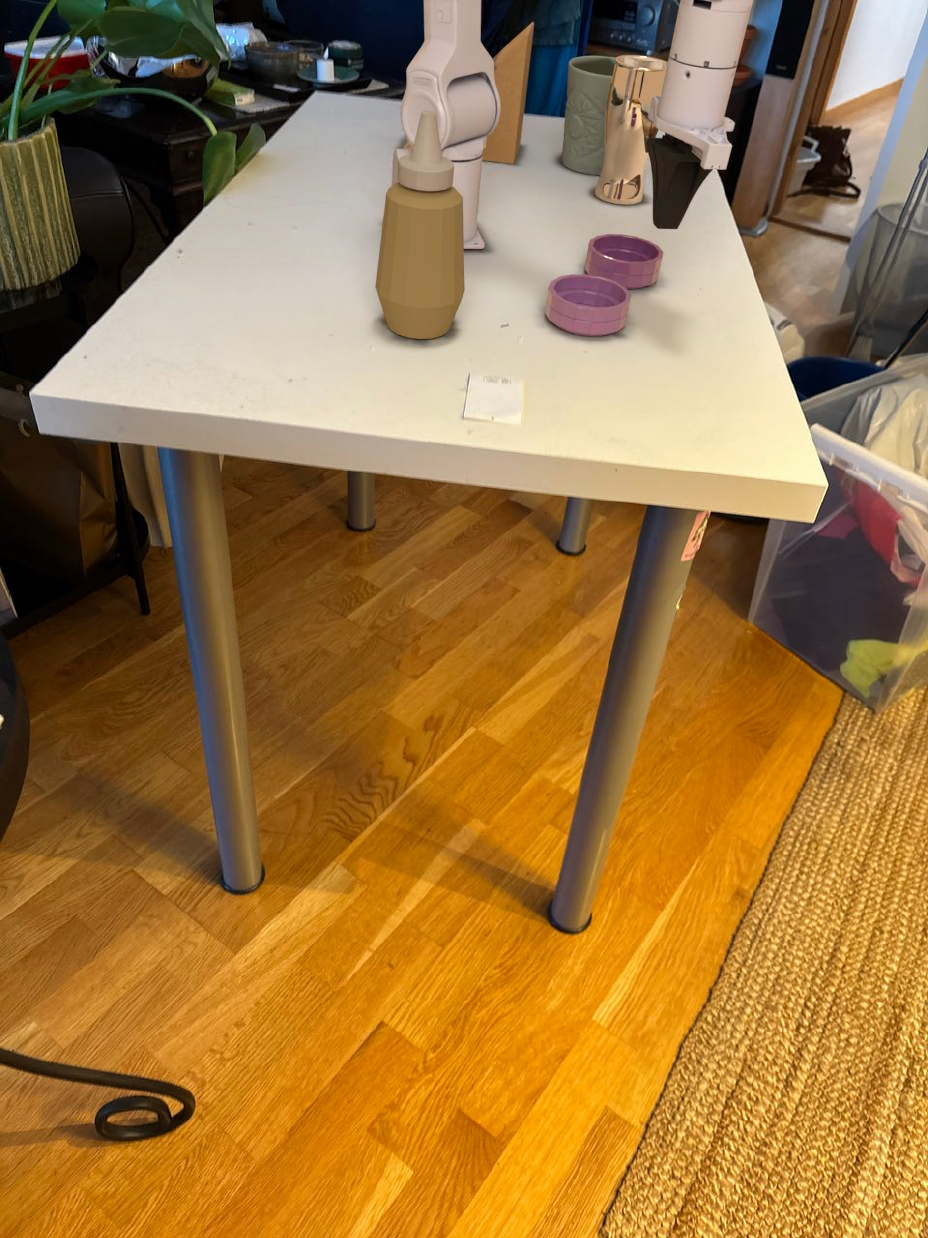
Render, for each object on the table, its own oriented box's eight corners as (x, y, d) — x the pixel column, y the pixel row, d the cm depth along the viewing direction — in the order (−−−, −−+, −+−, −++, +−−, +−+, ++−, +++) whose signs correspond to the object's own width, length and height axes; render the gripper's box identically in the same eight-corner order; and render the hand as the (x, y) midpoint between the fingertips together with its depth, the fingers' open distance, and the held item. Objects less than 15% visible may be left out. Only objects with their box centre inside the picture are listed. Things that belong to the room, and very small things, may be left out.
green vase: (627, 158, 128) (646, 60, 120) (629, 181, 120) (649, 79, 112) (556, 149, 128) (569, 51, 120) (553, 172, 121) (568, 69, 113)
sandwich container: (413, 131, 129) (418, 6, 119) (520, 145, 128) (534, 20, 118) (401, 149, 123) (405, 18, 112) (513, 164, 122) (528, 34, 112)
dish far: (595, 291, 94) (601, 263, 92) (575, 261, 99) (580, 233, 97) (666, 291, 95) (673, 263, 93) (643, 261, 101) (649, 234, 99)
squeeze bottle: (414, 300, 89) (423, 93, 76) (479, 328, 85) (499, 116, 73) (356, 324, 84) (356, 108, 72) (422, 355, 80) (433, 134, 68)
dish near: (556, 340, 85) (561, 309, 83) (536, 303, 90) (540, 273, 88) (635, 339, 86) (641, 309, 84) (610, 303, 92) (616, 274, 90)
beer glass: (643, 209, 113) (672, 72, 103) (588, 200, 114) (611, 63, 103) (646, 191, 118) (674, 59, 108) (593, 183, 119) (616, 51, 108)
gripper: (783, 85, 72) (734, 257, 81) (714, 42, 82) (678, 199, 91) (700, 81, 70) (660, 256, 80) (641, 38, 81) (611, 197, 90)
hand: (665, 226), depth 85 cm, fingers closed
